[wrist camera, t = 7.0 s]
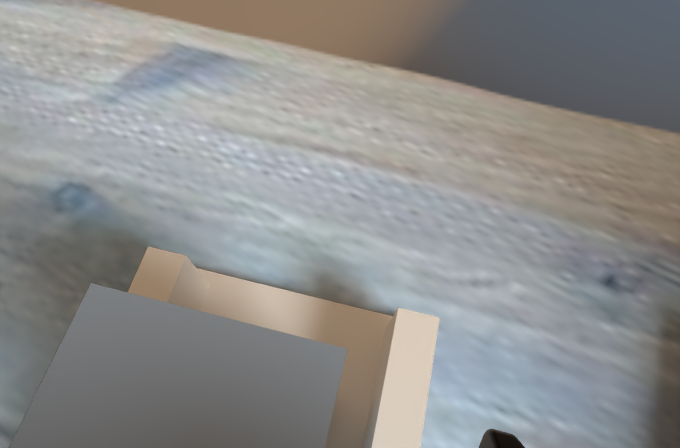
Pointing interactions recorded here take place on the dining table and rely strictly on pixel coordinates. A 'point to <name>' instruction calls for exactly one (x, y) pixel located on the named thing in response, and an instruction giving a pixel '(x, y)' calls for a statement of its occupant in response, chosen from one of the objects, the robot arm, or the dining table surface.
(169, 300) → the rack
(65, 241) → the dining table surface
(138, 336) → the grey rectangular prism
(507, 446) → the robot arm
